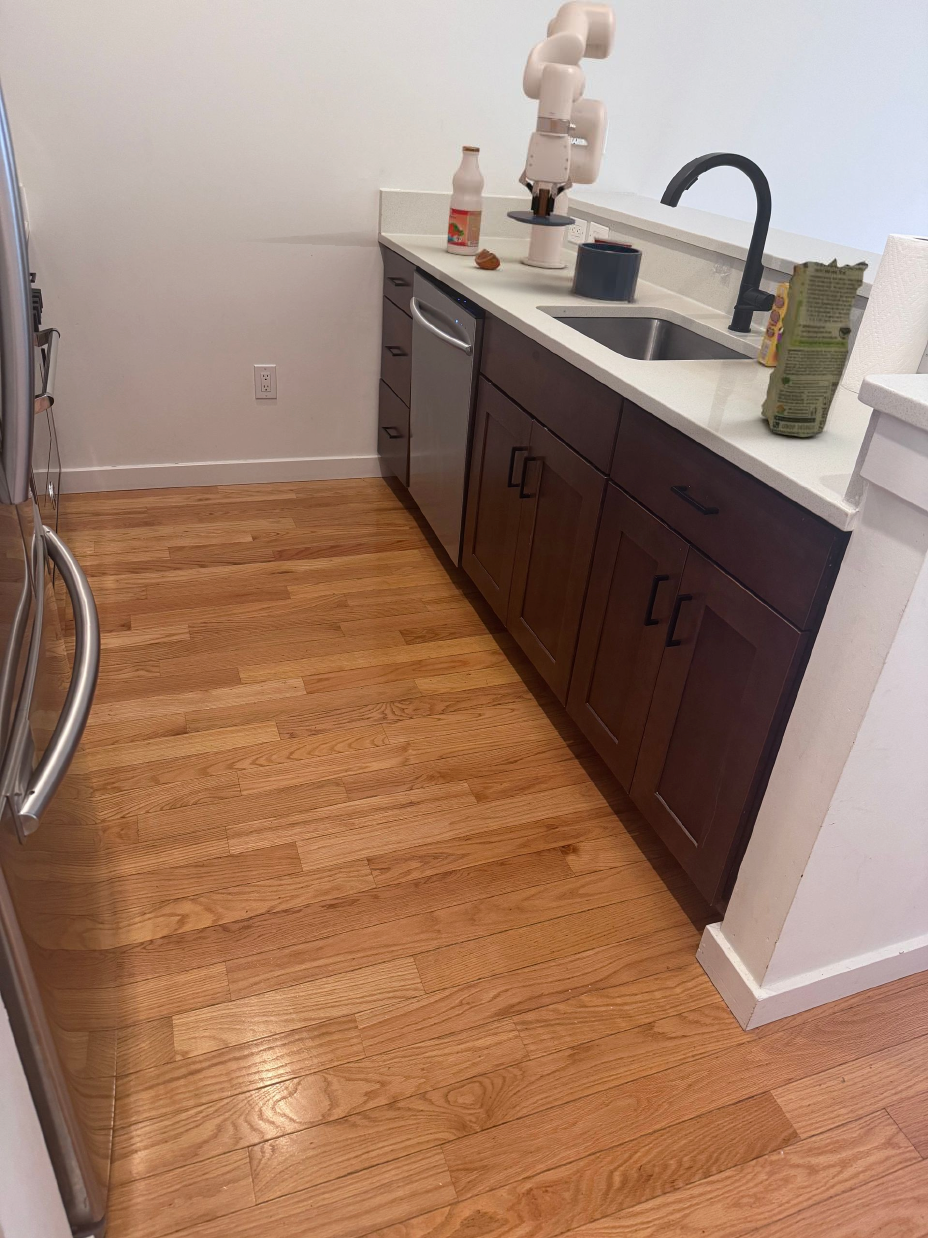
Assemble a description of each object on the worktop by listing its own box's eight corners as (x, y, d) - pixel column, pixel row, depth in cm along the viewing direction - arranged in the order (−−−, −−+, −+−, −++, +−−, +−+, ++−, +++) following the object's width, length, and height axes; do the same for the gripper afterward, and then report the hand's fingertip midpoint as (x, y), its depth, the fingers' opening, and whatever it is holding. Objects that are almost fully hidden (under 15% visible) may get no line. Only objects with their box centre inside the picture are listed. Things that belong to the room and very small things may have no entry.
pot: (568, 287, 227) (575, 240, 221) (628, 293, 228) (637, 246, 222) (574, 299, 214) (582, 249, 208) (638, 306, 214) (647, 255, 208)
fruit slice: (503, 273, 236) (505, 254, 234) (480, 272, 234) (482, 252, 232) (492, 267, 243) (494, 248, 240) (470, 266, 241) (471, 247, 238)
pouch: (748, 430, 135) (795, 257, 122) (755, 410, 144) (798, 248, 132) (823, 445, 132) (879, 269, 119) (825, 424, 141) (876, 259, 129)
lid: (505, 213, 218) (508, 181, 214) (571, 220, 219) (576, 188, 215) (507, 223, 204) (511, 188, 200) (578, 230, 205) (583, 196, 201)
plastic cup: (633, 288, 235) (642, 240, 229) (611, 291, 228) (619, 242, 222) (601, 280, 241) (608, 233, 235) (577, 283, 234) (585, 235, 228)
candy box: (767, 367, 172) (789, 285, 164) (756, 361, 175) (777, 280, 168) (807, 368, 174) (830, 288, 166) (795, 362, 177) (818, 283, 170)
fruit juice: (480, 256, 258) (490, 149, 244) (448, 254, 257) (457, 146, 242) (474, 251, 266) (484, 147, 252) (444, 248, 264) (452, 143, 250)
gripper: (585, 130, 205) (573, 216, 214) (516, 122, 204) (507, 209, 214) (589, 131, 198) (576, 220, 208) (518, 124, 198) (508, 213, 207)
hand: (541, 213), depth 211 cm, fingers closed on lid, 2 cm apart
